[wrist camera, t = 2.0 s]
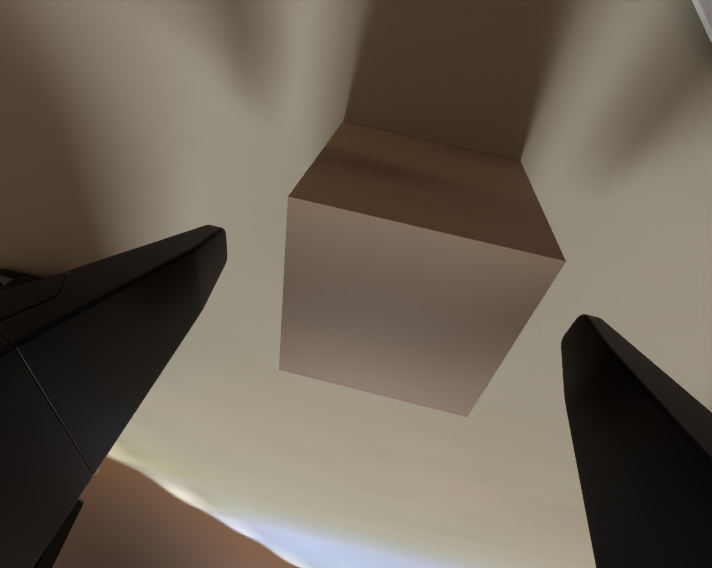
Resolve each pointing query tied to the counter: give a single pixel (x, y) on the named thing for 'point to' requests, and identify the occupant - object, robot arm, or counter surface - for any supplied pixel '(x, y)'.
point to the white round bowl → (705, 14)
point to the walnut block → (411, 267)
